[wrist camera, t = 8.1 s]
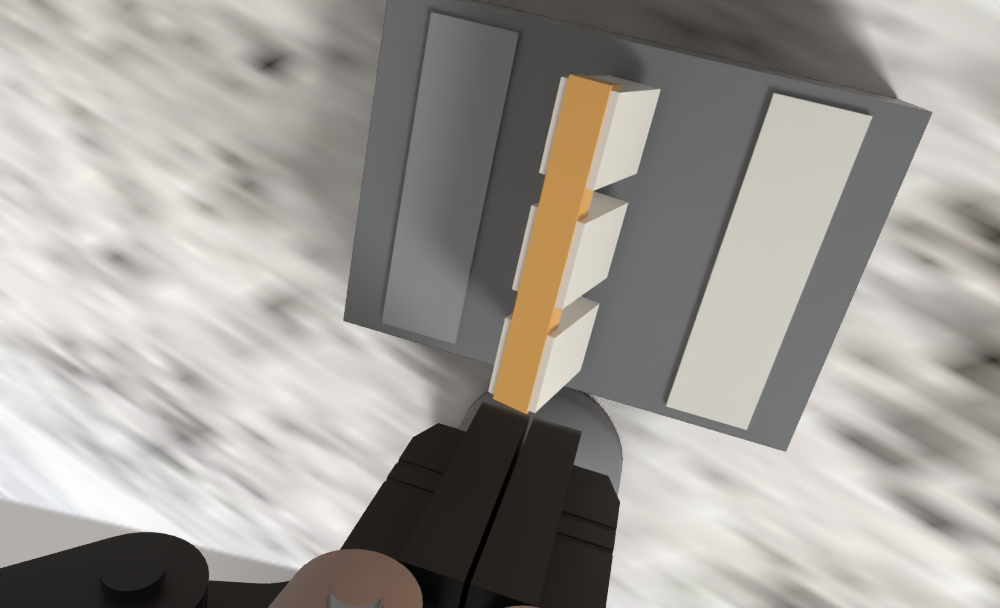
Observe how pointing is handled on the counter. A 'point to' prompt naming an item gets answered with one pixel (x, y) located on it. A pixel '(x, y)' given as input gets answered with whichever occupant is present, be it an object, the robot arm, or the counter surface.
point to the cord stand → (582, 414)
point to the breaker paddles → (570, 235)
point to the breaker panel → (649, 215)
